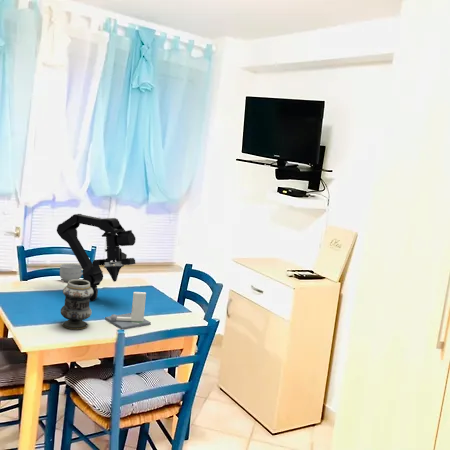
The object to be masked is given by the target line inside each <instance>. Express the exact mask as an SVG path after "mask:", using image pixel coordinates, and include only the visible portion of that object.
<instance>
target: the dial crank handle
mask: <svg viewBox="0 0 450 450" xmlns="http://www.w3.org/2000/svg"><path fill="white" fill-rule="evenodd" d="M146 298H147V292H145V291H143V292H142V291H133V293H132V305H131V312H130V313H131V317H117V315H118V314H115V313H114V314H111V315H110V316H111V320H112V321H117V320H121V321H143V319H145V318H144V317H145V308H146Z"/></svg>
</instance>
